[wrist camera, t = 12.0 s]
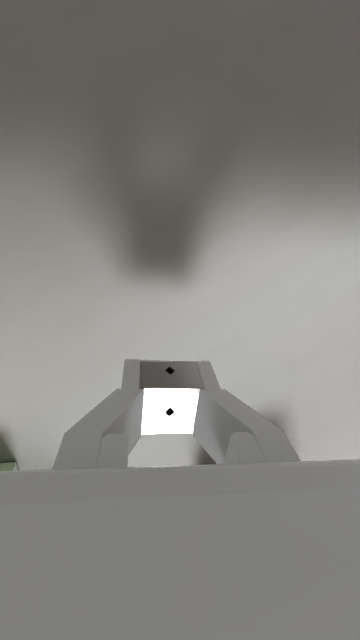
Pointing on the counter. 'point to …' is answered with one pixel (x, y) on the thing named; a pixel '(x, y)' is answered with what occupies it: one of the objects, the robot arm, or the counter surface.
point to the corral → (8, 466)
